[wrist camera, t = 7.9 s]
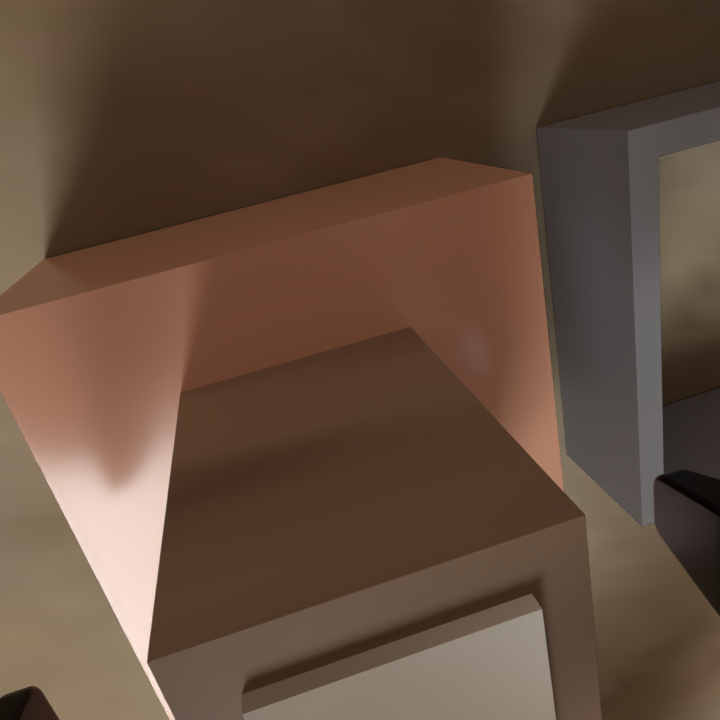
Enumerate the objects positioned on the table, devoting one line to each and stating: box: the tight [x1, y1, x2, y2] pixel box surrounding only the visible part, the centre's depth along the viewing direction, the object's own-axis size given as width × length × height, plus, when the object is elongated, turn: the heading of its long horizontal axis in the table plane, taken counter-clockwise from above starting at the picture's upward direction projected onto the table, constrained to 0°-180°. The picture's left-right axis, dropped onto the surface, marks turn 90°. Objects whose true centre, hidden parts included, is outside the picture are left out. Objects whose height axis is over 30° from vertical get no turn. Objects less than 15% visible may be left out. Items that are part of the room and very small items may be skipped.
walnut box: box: [147, 327, 602, 720], centre depth 9 cm, size 5×4×6 cm
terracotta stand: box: [0, 157, 564, 720], centre depth 13 cm, size 9×9×4 cm
